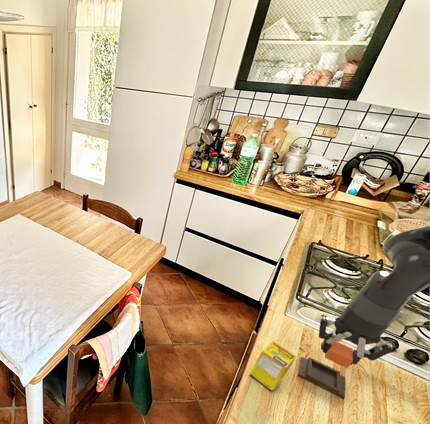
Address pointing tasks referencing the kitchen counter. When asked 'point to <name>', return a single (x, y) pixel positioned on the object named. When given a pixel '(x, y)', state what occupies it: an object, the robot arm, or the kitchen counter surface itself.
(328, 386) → the back plate
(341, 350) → the orange-red small block
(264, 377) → the supplement box
